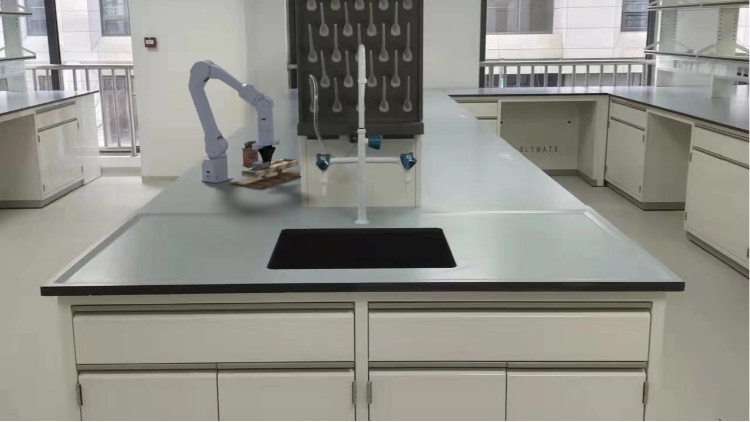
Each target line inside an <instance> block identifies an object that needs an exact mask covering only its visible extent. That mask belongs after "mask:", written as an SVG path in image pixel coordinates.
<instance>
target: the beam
mask: <svg viewBox="0 0 750 422" xmlns="http://www.w3.org/2000/svg"><path fill="white" fill-rule="evenodd" d="M298 163H299V162H298V159H296V158H289V157H288V158H287V157H286V158H285V157H284V158H281V159H277V160H274V161H271V164H270V168H268V169H264V170H261V171H253V167H250V168H247V169H243V170H241V177H244V178H245V177H246V178H249V177H252V178H259V177H262V176H265V175H268V174H271V173H275V172H277V169H280V168H282V170H284V169H285V170H288V169H291V168H293V167H296V166H298Z"/></svg>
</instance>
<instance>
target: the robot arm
mask: <svg viewBox="0 0 750 422" xmlns="http://www.w3.org/2000/svg"><path fill="white" fill-rule="evenodd" d="M189 74H190V75H189V81H188V84H187V87H188V91H189V93H190V96H191V99H192V102H193V105H194V108H195V110H196V113H197V116H198V119H199V121H200V122H199V123H200V124H201V128H202V130H203V133H204V138H203V140H204V144H205V145H204V151H205V153H206V154H207V155H206V158H205V159H203V161H202V163H201V175H202V177H201V178H202V179H200V181H201V182H206V183H207V182H208V183H215V184H218V183H222V182H226V181H229V180H233V179H234V177H232V176H229V170H228V169H229V168H228V166H229V165H228V154H227V151H228V149H229V143H228V140H226V138H225V137H224V136H223V133H222V132H221V130H220V129H219V128H218V124H217V122H216V119H215V117H214V113H213V111H212V108H211V106H210V102H209V100H208V95H207V93H206V91H205V87H206V84H207V83H208V81H209V80H211V79H212V80H220V81H221V82H223V83H224V84H225V85H227V86H229V87H230V88H232V89H233V90H235V91H237V93H238V96H239V98H240V99H242V100H243V101H245V102H246V103H248V104H249V105H251V106H252V107H254V109H255V111H256V112H257V137H258V138H257V140H258V141H256V143H255V144H252V150H258V154H259V155H260V157H261V161H269V165H270V164H271V162H272V160H273V155H274V153H275V152H276V149H277V148H276V145H277V146H278V145H281V141H280V139H279V138H275V137H274V136H275V135H274V134H275V133H274V116H273V113H274V112H273V109H274V107H275V103H274V101H273V99H272V98H271V97H270V96H269V95H266V94H265V93H264V92H261V91H259V90H258V89H256V88H255V85H254V84H252V83H250V84H249V83H242V82H241V81H239V80H238V79H237V78H236V77H235V76H233V75H232V74H230V73H229V72H228V71H226V70H225V68H223V67H221V66H220V65H219V64H217V63H214V61H212V60H209V59H205V60H199V61H196V62H194V64H193V65H191V68H190V69H189Z"/></svg>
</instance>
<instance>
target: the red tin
mask: <svg viewBox="0 0 750 422" xmlns="http://www.w3.org/2000/svg"><path fill="white" fill-rule="evenodd" d="M255 143H257V140H251V141H250V140H248V141H246V142H244V143H243V144H244V147H241V151H242V167H253V166H252V163H254V162H257V161H259V152H258V150H252V144H255Z"/></svg>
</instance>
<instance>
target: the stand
mask: <svg viewBox="0 0 750 422" xmlns="http://www.w3.org/2000/svg"><path fill="white" fill-rule="evenodd" d="M300 171H301V170H293V169H291V170H290V169H284V170H282V168H280V169H277V172H275V173H271V174H268V175H265V176H262V177H259V178H252V177H246V178H243V179H242V178H241V179H239V180H237V181H231V182H230V185H231V186H234V187H235V186H236V187H237V186H238V187H245V188H252V189H259V190H263V189H266V188H269V187H270V188H271V187H273V186H276V185H278V183H279V184H281V182H282V183H285V182H288V180H289V181H292V180H295V179H297V177H298V178H301V177H300ZM294 178H295V179H294ZM291 179H292V180H291ZM284 181H285V182H284Z"/></svg>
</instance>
